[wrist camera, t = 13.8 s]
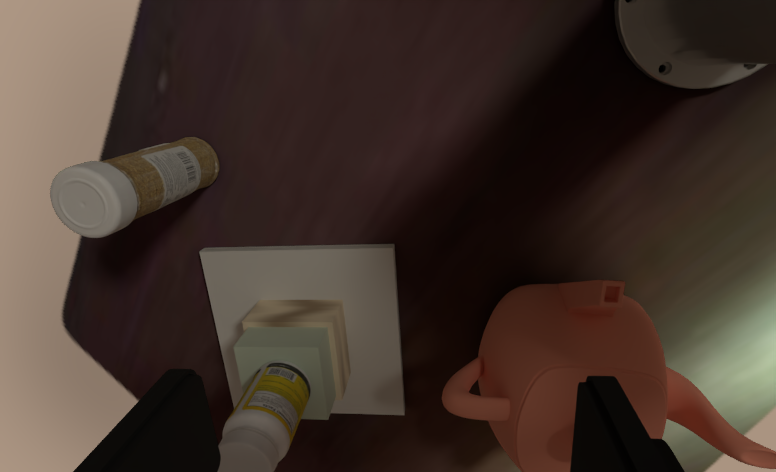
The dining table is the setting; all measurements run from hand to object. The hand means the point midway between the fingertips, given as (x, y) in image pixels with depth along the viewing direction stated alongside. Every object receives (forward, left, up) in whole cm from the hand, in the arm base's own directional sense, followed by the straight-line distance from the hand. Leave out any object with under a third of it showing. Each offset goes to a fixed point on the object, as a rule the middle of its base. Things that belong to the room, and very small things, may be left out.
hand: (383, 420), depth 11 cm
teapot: (-12, +15, -29) cm, 34 cm away
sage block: (+12, +15, -23) cm, 30 cm away
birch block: (+12, +15, -27) cm, 33 cm away
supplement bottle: (+12, +15, -20) cm, 28 cm away
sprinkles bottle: (+20, -2, -28) cm, 35 cm away
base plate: (+12, +15, -28) cm, 34 cm away
